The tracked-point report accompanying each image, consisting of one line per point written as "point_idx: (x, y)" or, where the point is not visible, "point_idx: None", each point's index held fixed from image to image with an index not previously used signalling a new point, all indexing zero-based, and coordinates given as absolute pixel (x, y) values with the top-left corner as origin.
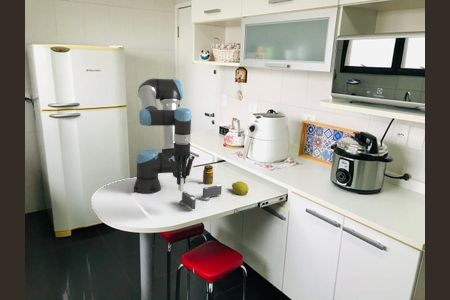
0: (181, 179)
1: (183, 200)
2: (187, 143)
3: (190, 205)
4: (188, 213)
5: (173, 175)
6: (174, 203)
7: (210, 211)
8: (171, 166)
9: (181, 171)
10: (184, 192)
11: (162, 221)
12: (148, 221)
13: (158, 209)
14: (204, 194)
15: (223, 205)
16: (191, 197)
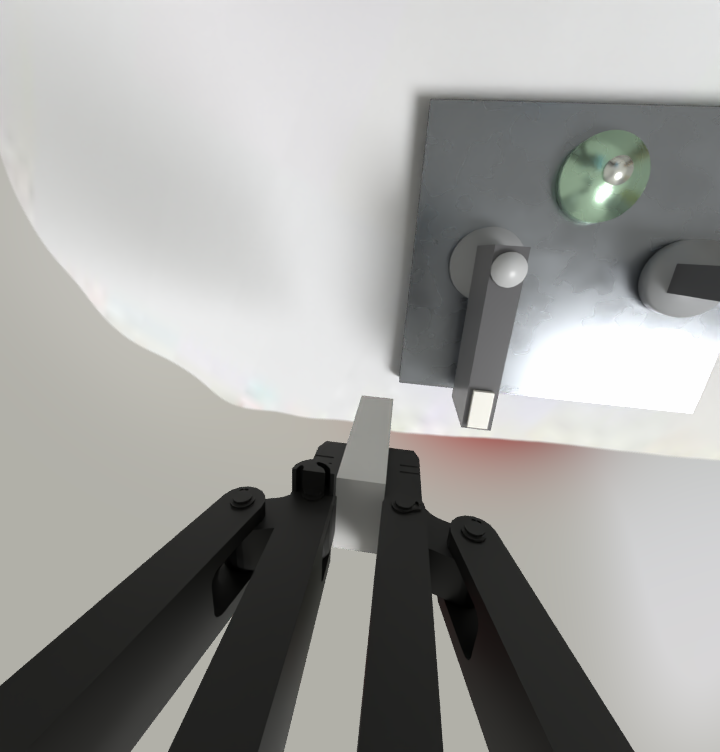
0: (340, 539)
1: (475, 273)
2: None
3: (457, 383)
4: None
5: (223, 511)
6: None
7: (566, 414)
8: (8, 711)
9: (377, 556)
10: (499, 278)
11: (269, 365)
12: (205, 326)
13: (306, 215)
14: (690, 296)
15: (709, 397)
16: (479, 398)
